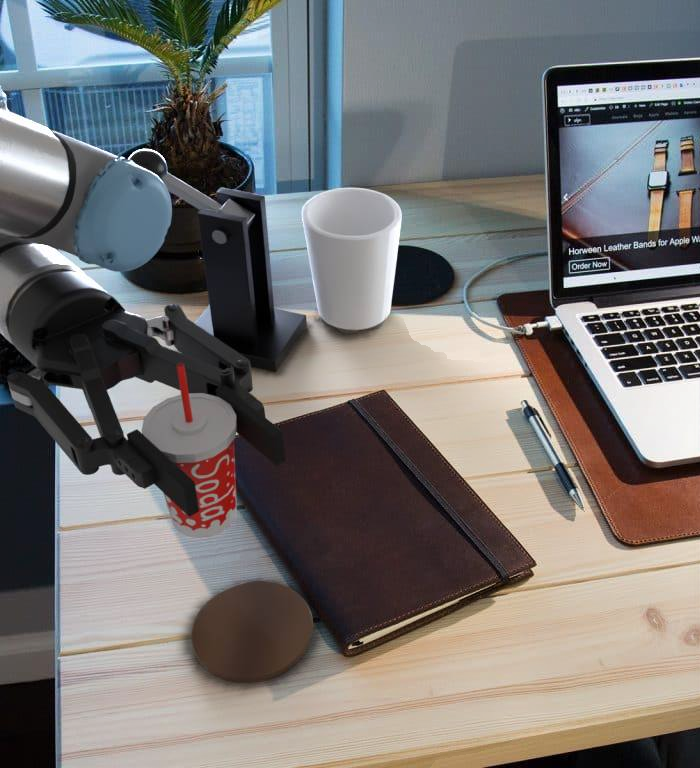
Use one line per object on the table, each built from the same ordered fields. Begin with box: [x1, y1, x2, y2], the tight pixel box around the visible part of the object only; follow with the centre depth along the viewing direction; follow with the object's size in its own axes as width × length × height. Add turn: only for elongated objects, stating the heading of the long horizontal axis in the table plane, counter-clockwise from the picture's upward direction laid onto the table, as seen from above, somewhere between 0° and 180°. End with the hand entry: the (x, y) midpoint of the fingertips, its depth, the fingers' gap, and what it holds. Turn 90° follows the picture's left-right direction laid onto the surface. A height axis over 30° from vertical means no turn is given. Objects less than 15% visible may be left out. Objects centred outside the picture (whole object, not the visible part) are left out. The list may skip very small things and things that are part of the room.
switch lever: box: [128, 148, 255, 229], centre depth 97 cm, size 12×4×4 cm, turn 77°
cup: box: [300, 187, 403, 335], centre depth 107 cm, size 10×10×13 cm
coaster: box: [191, 580, 314, 684], centre depth 80 cm, size 9×9×1 cm
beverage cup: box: [141, 362, 238, 539], centre depth 71 cm, size 6×6×14 cm
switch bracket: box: [194, 187, 308, 373], centre depth 102 cm, size 10×8×16 cm
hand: (236, 473), depth 68 cm, fingers closed on beverage cup, 6 cm apart
